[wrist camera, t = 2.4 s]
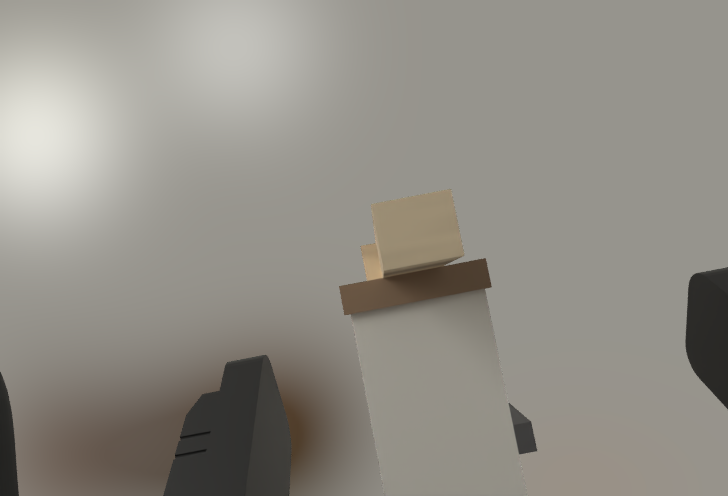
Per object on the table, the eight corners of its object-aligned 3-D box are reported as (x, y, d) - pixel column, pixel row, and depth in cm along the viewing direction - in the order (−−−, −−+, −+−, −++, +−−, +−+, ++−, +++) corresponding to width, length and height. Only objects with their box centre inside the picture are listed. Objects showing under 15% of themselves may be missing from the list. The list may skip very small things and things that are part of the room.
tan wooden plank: (369, 285, 45) (363, 251, 45) (437, 272, 44) (431, 238, 45) (356, 275, 23) (344, 209, 23) (491, 250, 23) (477, 183, 23)
